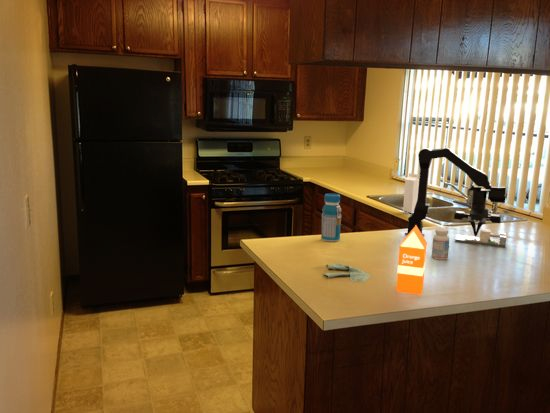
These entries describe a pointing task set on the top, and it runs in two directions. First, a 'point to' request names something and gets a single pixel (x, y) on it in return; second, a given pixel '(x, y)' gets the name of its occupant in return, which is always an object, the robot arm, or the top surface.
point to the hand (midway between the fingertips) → (475, 236)
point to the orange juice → (411, 263)
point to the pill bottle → (440, 244)
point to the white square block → (486, 234)
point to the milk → (411, 192)
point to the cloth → (353, 273)
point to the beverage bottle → (331, 218)
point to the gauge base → (477, 241)
